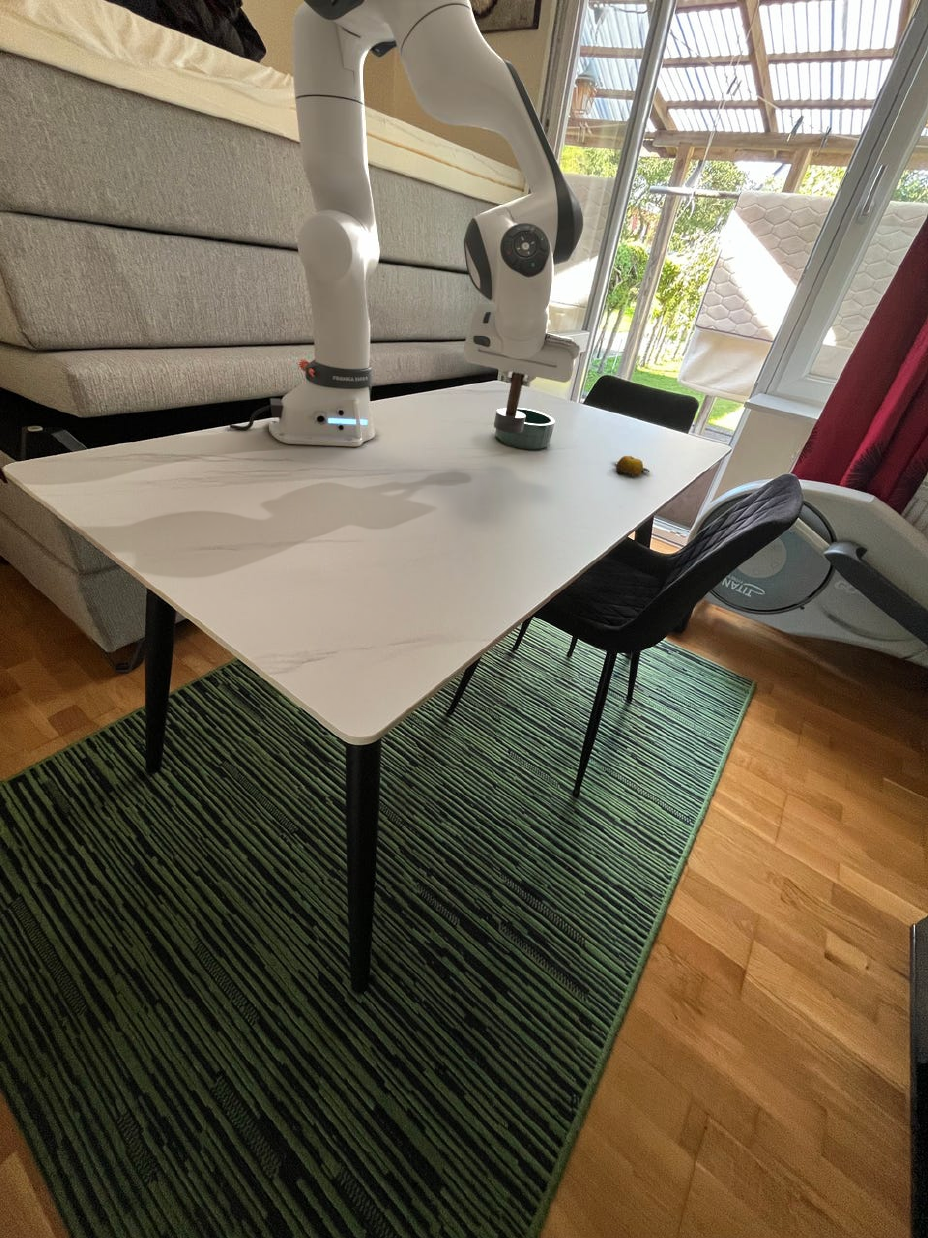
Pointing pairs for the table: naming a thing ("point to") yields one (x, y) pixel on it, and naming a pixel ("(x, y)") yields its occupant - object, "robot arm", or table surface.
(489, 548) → the table surface
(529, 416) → the bowl
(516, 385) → the ring toss peg
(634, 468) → the fruit
